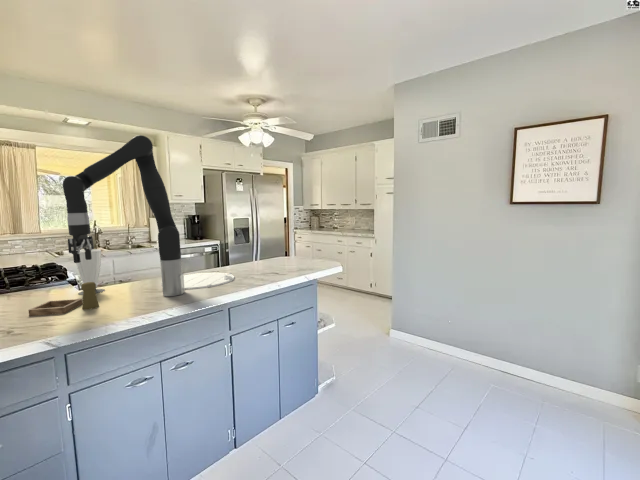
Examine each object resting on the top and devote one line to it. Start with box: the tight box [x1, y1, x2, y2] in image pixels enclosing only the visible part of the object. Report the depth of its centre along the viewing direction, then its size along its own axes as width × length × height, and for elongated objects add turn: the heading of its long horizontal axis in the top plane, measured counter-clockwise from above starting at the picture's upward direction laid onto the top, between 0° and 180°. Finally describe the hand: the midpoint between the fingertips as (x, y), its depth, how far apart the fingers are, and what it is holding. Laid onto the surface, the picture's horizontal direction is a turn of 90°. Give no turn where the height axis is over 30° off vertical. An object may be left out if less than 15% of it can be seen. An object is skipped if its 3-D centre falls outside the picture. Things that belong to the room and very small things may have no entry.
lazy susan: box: [161, 272, 235, 290], centre depth 188 cm, size 40×39×3 cm
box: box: [28, 298, 83, 317], centre depth 139 cm, size 13×13×2 cm
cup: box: [75, 248, 106, 296], centre depth 167 cm, size 12×12×22 cm
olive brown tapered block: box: [80, 282, 100, 311], centre depth 140 cm, size 6×6×11 cm
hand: (83, 261), depth 142 cm, fingers open, 8 cm apart
